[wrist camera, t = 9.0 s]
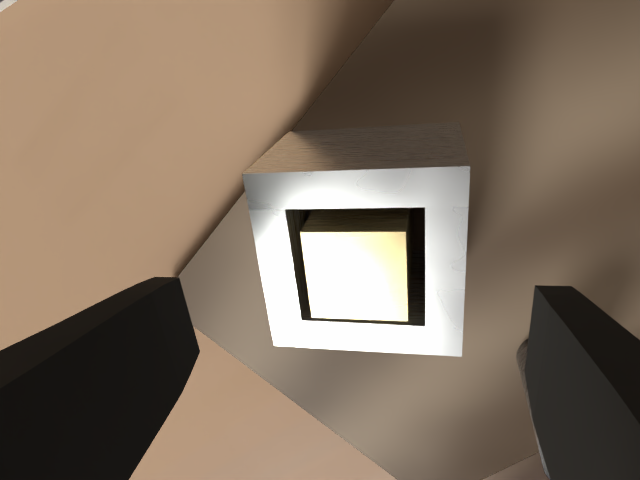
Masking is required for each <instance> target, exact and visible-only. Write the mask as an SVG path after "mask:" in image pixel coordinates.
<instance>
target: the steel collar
mask: <svg viewBox="0 0 640 480" xmlns="http://www.w3.org/2000/svg"><path fill="white" fill-rule="evenodd" d="M242 176H243V181H244V187H245V192H246V197H247V203H248V208H249V214H250V219H251V224H252V230H253V235H254V240H255V246H256V251H257V256H258V262H259V267H260V273H261V278H262V283H263V289H264V294H265V299H266V305H267V310H268V315H269V321H270V326H271V332H272V337H273V342H274V346H288V347H305V348H322V349H338V350H355V351H372V352H389V353H406V354H423V355H440V356H457V357H462V343H463V320H464V298H465V275H466V252H467V230H468V207H469V184H470V163H469V159H468V155H467V151H466V147H465V144H464V140H463V136H462V132H461V128H460V124H459V122H451V123H433V124H416V125H398V126H380V127H362V128H344V129H326V130H309V131H291V132H288V133H287V134H286V135H284V136H283V137H282V138H281V139H280V140H279V141H278V142H277V143H276V144H275V145H273V146H272V147H271V148H270V149H269V150H268V151H267V152H266V153H265V154H263V155H262V156H261V157H260V158H259V159H258V160H257V161H256V162H255V163H254V164H252V165H251V166H250V167H249V168H248V169H247V170H246V171H245V172H244V173H242ZM417 207H425V251H413V253H412V269H411V284H410V299H409V315H408V321H387V320H363V319H338V318H314V317H312V315H311V308H310V300H309V293H308V286H307V279H306V271H305V264H304V257H303V250H302V243H301V235H300V232H301V230H302V228H303V226H304V225H305V223H306V221H307V219H308V217H309V216H310V214H311V212H312V210H313V209H348V208H417Z"/></svg>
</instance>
